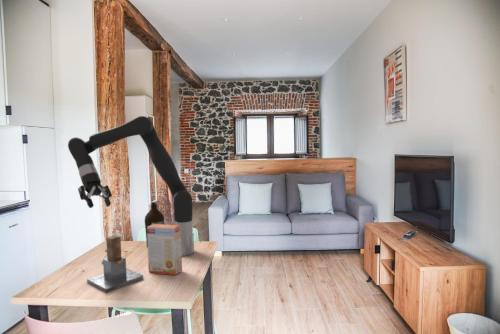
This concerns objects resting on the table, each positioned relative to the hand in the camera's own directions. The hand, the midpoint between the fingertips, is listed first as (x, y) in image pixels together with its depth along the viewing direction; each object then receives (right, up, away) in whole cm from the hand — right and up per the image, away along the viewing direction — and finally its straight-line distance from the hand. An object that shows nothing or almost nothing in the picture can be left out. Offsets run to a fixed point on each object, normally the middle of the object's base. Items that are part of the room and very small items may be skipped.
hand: (100, 206), depth 140 cm
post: (+11, -28, -10) cm, 32 cm away
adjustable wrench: (-6, -29, +22) cm, 37 cm away
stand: (+11, -30, -10) cm, 33 cm away
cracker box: (+30, -29, -1) cm, 42 cm away
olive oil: (+14, -27, +36) cm, 47 cm away
